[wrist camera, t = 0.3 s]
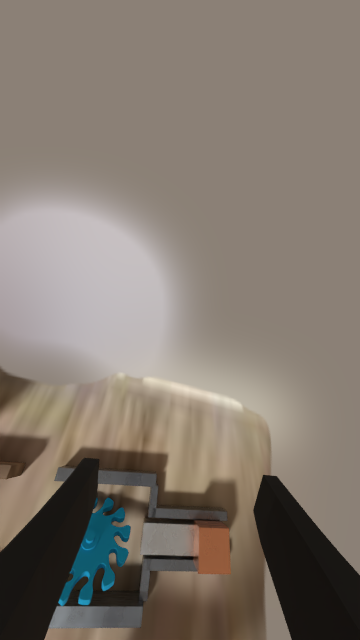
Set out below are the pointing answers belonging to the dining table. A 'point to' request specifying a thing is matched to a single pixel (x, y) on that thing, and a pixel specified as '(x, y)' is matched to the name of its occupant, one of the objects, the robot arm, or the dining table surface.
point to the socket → (128, 605)
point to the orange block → (189, 542)
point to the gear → (98, 552)
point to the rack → (10, 469)
